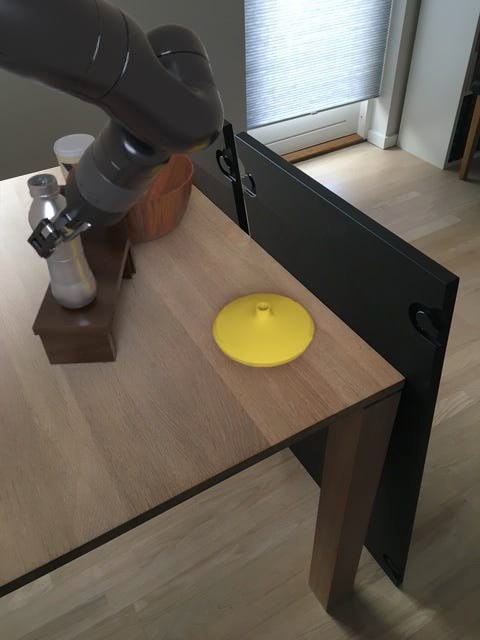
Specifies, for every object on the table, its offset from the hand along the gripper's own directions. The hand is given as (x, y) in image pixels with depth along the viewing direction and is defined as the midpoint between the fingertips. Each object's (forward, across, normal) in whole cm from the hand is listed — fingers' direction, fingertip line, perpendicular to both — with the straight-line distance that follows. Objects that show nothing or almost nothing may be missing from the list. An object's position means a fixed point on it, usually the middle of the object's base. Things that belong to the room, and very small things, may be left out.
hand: (66, 237), depth 73 cm
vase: (-1, -15, +30) cm, 33 cm away
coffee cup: (+42, -34, -13) cm, 56 cm away
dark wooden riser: (+18, -5, +10) cm, 22 cm away
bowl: (+28, -30, +1) cm, 41 cm away
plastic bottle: (+10, 0, +7) cm, 13 cm away
